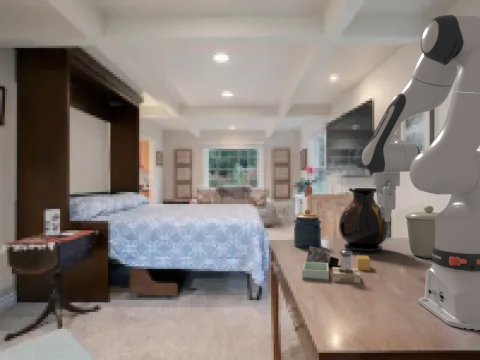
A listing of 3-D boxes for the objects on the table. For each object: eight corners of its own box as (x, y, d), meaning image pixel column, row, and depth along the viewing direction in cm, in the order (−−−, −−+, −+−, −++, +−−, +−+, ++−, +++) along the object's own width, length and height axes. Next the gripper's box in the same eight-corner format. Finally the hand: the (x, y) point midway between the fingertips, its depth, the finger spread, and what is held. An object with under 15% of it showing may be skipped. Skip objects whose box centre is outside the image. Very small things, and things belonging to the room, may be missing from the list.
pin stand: (360, 283, 107) (360, 275, 107) (333, 281, 109) (333, 273, 109) (357, 276, 115) (357, 268, 115) (332, 274, 117) (332, 267, 117)
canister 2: (455, 255, 148) (455, 205, 148) (452, 263, 133) (452, 208, 133) (408, 250, 158) (408, 203, 158) (401, 257, 144) (401, 205, 144)
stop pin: (352, 280, 110) (352, 252, 110) (340, 280, 111) (340, 252, 111) (351, 277, 113) (351, 250, 113) (339, 276, 114) (339, 249, 114)
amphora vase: (395, 256, 146) (395, 188, 146) (341, 254, 149) (342, 188, 149) (382, 246, 167) (382, 187, 167) (336, 244, 171) (336, 187, 171)
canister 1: (291, 247, 164) (291, 209, 164) (295, 242, 176) (295, 207, 176) (320, 249, 160) (320, 210, 160) (322, 244, 172) (322, 208, 172)
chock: (369, 270, 123) (369, 259, 123) (357, 270, 124) (357, 258, 124) (367, 266, 129) (367, 255, 129) (356, 266, 129) (356, 255, 129)
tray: (328, 280, 110) (328, 271, 110) (302, 279, 112) (302, 269, 112) (327, 271, 121) (328, 263, 121) (303, 270, 123) (303, 261, 123)
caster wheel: (335, 270, 133) (337, 273, 123) (306, 262, 136) (305, 264, 126) (339, 252, 133) (341, 254, 124) (310, 245, 136) (309, 245, 127)
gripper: (401, 181, 113) (400, 224, 114) (391, 180, 133) (391, 216, 134) (380, 181, 115) (379, 223, 116) (374, 180, 135) (373, 215, 135)
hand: (385, 219), depth 125 cm, fingers open, 8 cm apart
